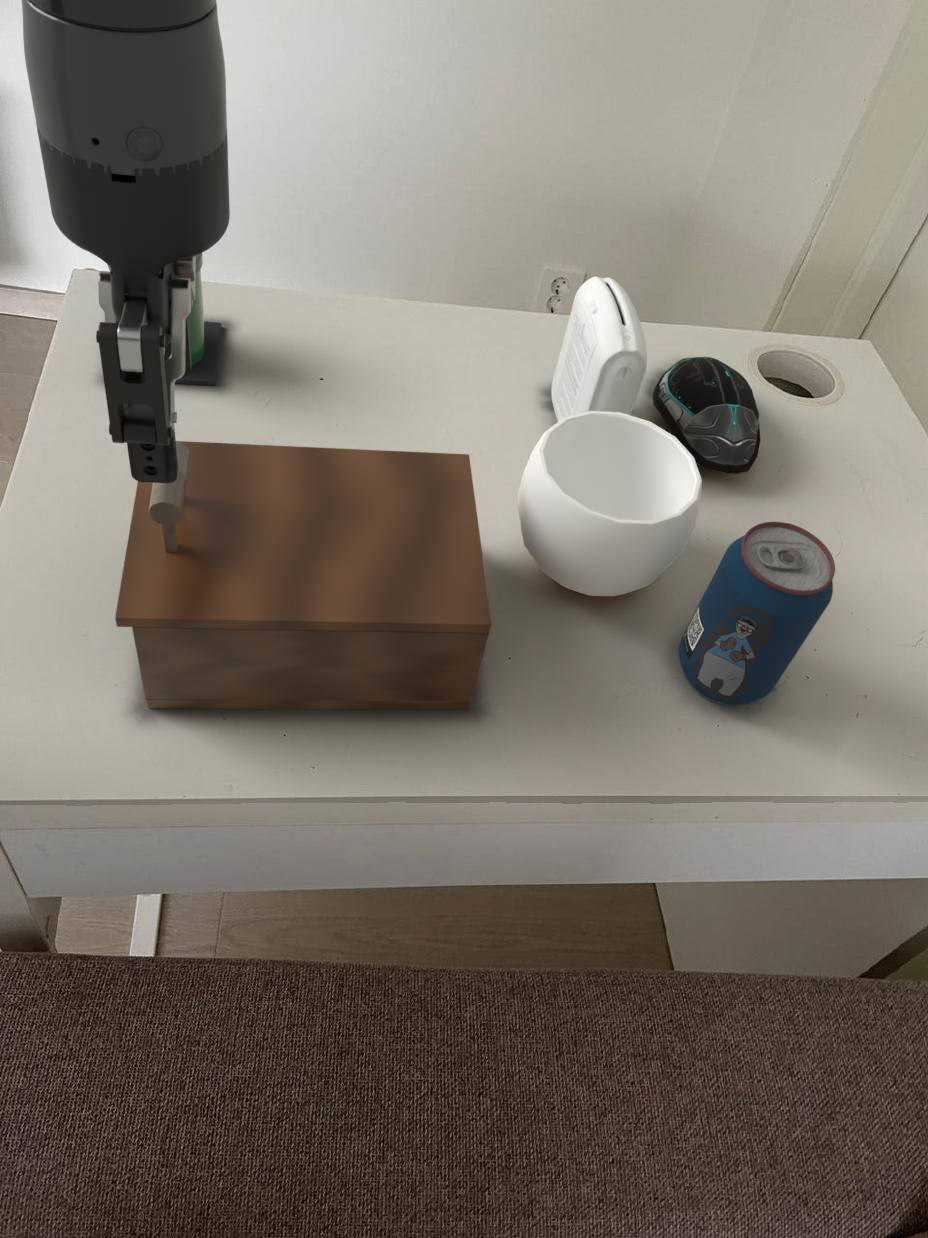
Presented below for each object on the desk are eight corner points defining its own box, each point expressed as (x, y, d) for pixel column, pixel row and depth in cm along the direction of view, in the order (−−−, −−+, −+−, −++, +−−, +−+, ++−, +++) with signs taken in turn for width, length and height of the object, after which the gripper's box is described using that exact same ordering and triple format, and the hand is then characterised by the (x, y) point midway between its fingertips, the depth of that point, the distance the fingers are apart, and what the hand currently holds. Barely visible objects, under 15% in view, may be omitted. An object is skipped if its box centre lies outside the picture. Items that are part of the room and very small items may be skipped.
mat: (111, 379, 79) (111, 375, 79) (124, 319, 84) (123, 315, 84) (215, 385, 81) (214, 381, 80) (221, 326, 86) (221, 322, 85)
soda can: (759, 637, 72) (830, 519, 63) (779, 718, 67) (858, 604, 58) (666, 628, 71) (724, 508, 62) (680, 710, 67) (744, 593, 57)
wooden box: (147, 708, 61) (131, 627, 55) (169, 535, 70) (158, 449, 64) (469, 710, 64) (489, 633, 58) (451, 544, 73) (467, 463, 67)
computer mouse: (730, 370, 92) (752, 316, 88) (770, 498, 82) (798, 444, 77) (639, 360, 91) (657, 305, 87) (668, 489, 80) (690, 434, 76)
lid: (116, 627, 55) (103, 566, 51) (145, 448, 64) (136, 385, 60) (489, 633, 58) (504, 576, 54) (467, 462, 67) (478, 404, 63)
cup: (547, 480, 79) (575, 381, 72) (690, 547, 77) (734, 452, 69) (475, 576, 72) (497, 477, 64) (631, 654, 69) (673, 560, 62)
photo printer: (618, 471, 81) (663, 343, 72) (568, 471, 80) (606, 341, 71) (591, 390, 87) (629, 263, 78) (544, 388, 86) (576, 260, 77)
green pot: (123, 370, 80) (108, 269, 73) (132, 322, 84) (119, 222, 77) (205, 375, 81) (198, 276, 74) (211, 327, 85) (205, 229, 78)
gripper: (63, 31, 45) (107, 337, 57) (0, 195, 36) (68, 515, 48) (235, 51, 46) (242, 346, 58) (215, 215, 37) (228, 522, 49)
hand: (163, 422), depth 53 cm, fingers open, 8 cm apart
